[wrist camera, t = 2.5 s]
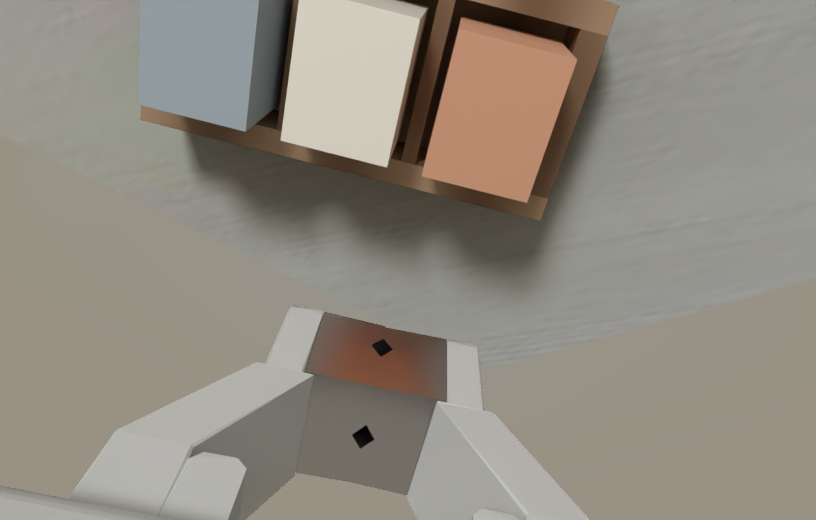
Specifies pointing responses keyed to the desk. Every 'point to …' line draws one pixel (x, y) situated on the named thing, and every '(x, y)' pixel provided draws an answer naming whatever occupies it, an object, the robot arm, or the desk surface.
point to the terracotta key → (497, 109)
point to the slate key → (213, 58)
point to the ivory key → (352, 76)
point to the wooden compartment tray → (494, 3)
